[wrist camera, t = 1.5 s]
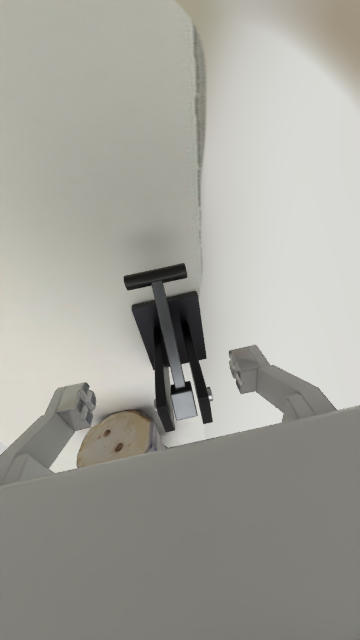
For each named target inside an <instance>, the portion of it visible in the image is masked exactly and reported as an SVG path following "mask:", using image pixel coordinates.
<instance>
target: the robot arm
mask: <svg viewBox="0 0 360 640" xmlns="http://www.w3.org/2000/svg"><path fill="white" fill-rule="evenodd" d="M229 357H230V359H231V360H230V361H229V364H230V369H231V372H232V375H233V377H234V378H235V379H236V384H237V387H238V389H239V391H240V393H241V394H244V393H248V392H254V391H256V392H257V393H258V394H260V395H261V396H262V397H264V398H265V399H266V400H267V401H269V402H270V403H271V404H273V405H274V406H275V407H276V408H278V409H279V410H280V411H282V412H283V413H284V414H283V419H282V423H279V424H274V425H269V426H265V427H261V428H256V429H252V430H247V431H243V432H238V433H234V434H229V435H225V436H220V437H216V438H211V439H207V440H202V441H198V442H193V443H189V444H184V445H180V446H175V447H171V448H166V449H162V450H157V451H153V452H148V453H144V454H140V455H135V456H131V457H126V458H122V459H117V460H113V461H108V462H104V463H99V464H95V465H90V466H86V467H81V468H77V469H72V470H68V471H63V472H59V473H54V472H52V471H51V470H50V469H49V468H50V466H51V465H52V463H53V462H54V461H55V459H56V458H57V456H58V455H59V454H60V452H61V451H62V449H63V448H64V447H65V445H66V444H67V442H68V441H69V440H70V438H71V437H72V435H73V434H74V433H75V432H74V431H78V430H82V429H85V428H89V427H90V426H91V422H92V418H93V415H92V413H91V412H92V411H93V410H94V409H95V405H96V397H95V394H94V392H93V391H91V390H89V385H88V384H87V383H80V384H75V385H70V386H65V387H60V388H58V389H57V390H56V391H55V393H54V395H53V397H52V399H51V402H50V404H49V406H48V408H47V410H46V412H45V415H43V416H41V417H40V418H39V419H38V420H37V421H36V422H34V423H33V424H32V425H31V426H30V427H29V428H28V429H27V430H26V431H25V432H24V433H23V434H22V435H21V436H20V437H19V438H18V439H17V440H16V441H15V442H14V443H13V444H12V445H10V446H9V447H8V448H7V449H6V450H5V451H4V452H3V453H2V454H1V455H0V640H360V405H359V406H355V407H350V408H346V409H342V410H337V409H336V408H335V407H334V406H333V405H332V404H331V402H330V401H329V400H328V399H327V398H326V396H325V395H324V394H323V393H322V392H321V391H320V389H319V388H318V387H316V386H314V385H311V384H310V383H308V382H306V381H304V380H302V379H300V378H298V377H296V376H294V375H292V374H290V373H288V372H286V371H284V370H282V369H280V368H278V367H276V366H274V365H270V364H269V362H268V361H267V360H266V358H265V357H264V355H263V354H262V352H261V351H260V349H259V348H258V347H257V346H256V345H252V346H248V347H244V348H239V349H235V350H231V351H229Z"/></svg>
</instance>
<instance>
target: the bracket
mask: <svg viewBox="0 0 360 640" xmlns="http://www.w3.org/2000/svg"><path fill="white" fill-rule="evenodd" d="M167 303H168V307H169V312H170V316H171V321H172V325H173V330H174V334H175V339H176V343H177V348H178V352H179V357H180V362H181V364H184V363H190V368H191V372H192V377H193V381H194V385H195V390H196V394H197V398H198V403H199V407H200V411H201V416H202V420H203V424H206V423H210V422H213V421H212V414H211V407H210V401H213V397H212V393H211V389H210V387H207V388H206V385H205V381H204V378H203V375H202V371H201V367H200V364H199V360H202V359H206V351H205V344H204V337H203V330H202V322H201V315H200V308H199V301H198V295H197V292H191V293H186V294H182V295H177V296H173V297H168V298H167ZM132 312H133V315H134V317H135V320H136V323H137V326H138V328H139V331H140V334H141V337H142V340H143V342H144V345H145V348H146V351H147V353H148V356H149V359H150V362H151V364H152V367H153V370H155V395H156V399H154V407H155V411H156V413H158V415H159V417H160V419H161V422H162V424H163V426H164V429H165V431H166V432H170V431H174V430H175V425H174V415H173V406H172V400H171V396H170V394H171V387H170V378H169V369H168V367H170V363H169V359H168V355H167V350H166V346H165V341H164V337H163V333H162V328H161V324H160V320H159V315H158V311H157V306H156V302H155V300H154V301H150V302H145V303H140V304H136V305H132Z"/></svg>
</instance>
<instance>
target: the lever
mask: <svg viewBox="0 0 360 640" xmlns="http://www.w3.org/2000/svg"><path fill="white" fill-rule="evenodd" d="M184 278H187V272H186V267H185V264H184V263H182V264H178V265H173V266H168V267H164V268H159V269H154V270H150V271H145V272H140V273H136V274H131V275H126V276H124V283H125V286H126V289H127V290H133V289H138V288H142V287H147V286H151V285H152V289H153V293H154V298H155V302H156V306H157V311H158V315H159V320H160V324H161V328H162V333H163V337H164V341H165V346H166V350H167V355H168V359H169V363H170V368H171V372H172V377H173V381H174V385H171V394H170V396H171V400H172V404H173V409H174V413H175V417H176V420H182V419H186V418H191V417H195V416H197V410H196V406H195V401H194V396H193V392H192V387H191V383H190V381H187V382H185V380H184V375H183V371H182V366H181V362H180V357H179V352H178V348H177V343H176V339H175V334H174V330H173V325H172V321H171V316H170V312H169V307H168V303H167V298H166V294H165V289H164V285H163V283H165V282H170V281H175V280H179V279H184Z"/></svg>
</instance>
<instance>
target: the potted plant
mask: <svg viewBox="0 0 360 640" xmlns="http://www.w3.org/2000/svg"><path fill="white" fill-rule="evenodd" d="M166 448H167V447H166V446H165V445H163V442H162V440H161V437H160V435H159V432H158V429H157V426H156V424H155V422H154V420H153V419H151V418H150V417H149V416H147V415H146V414H144V413H142V412H140V411H135V410H132V411H131V410H127V411H122V412H118V413H115V414H111V415H110V416H109V417H107V418H106V419H104V420H103V421H102V422H101V423H100V424H98V425H96V426H94V427H92V428H91V429H90V431H89V432H88V433H87V435H86V436H85V438H84V440H83V442H82V444H81V447H80V450H79V452H78V455H77V468H81V467H86V466H90V465H95V464H99V463H104V462H108V461H113V460H117V459H122V458H126V457H131V456H135V455H140V454H144V453H148V452H153V451H157V450H162V449H166Z"/></svg>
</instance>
